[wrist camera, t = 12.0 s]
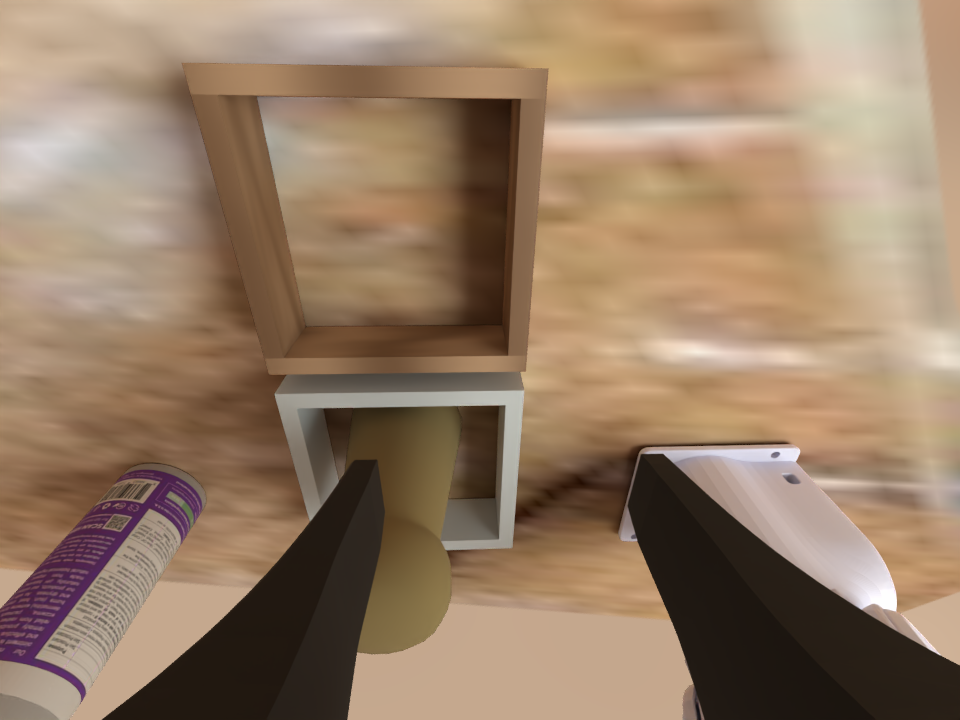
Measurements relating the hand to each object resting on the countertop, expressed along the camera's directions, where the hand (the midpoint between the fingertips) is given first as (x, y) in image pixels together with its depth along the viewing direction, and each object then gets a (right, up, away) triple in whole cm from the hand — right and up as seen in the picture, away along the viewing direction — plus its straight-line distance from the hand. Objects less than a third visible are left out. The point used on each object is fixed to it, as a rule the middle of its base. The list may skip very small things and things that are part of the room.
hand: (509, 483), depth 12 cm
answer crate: (-5, -1, +13) cm, 13 cm away
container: (-20, -4, +14) cm, 24 cm away
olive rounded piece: (-5, 0, +12) cm, 13 cm away
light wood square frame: (-4, +9, +7) cm, 12 cm away
